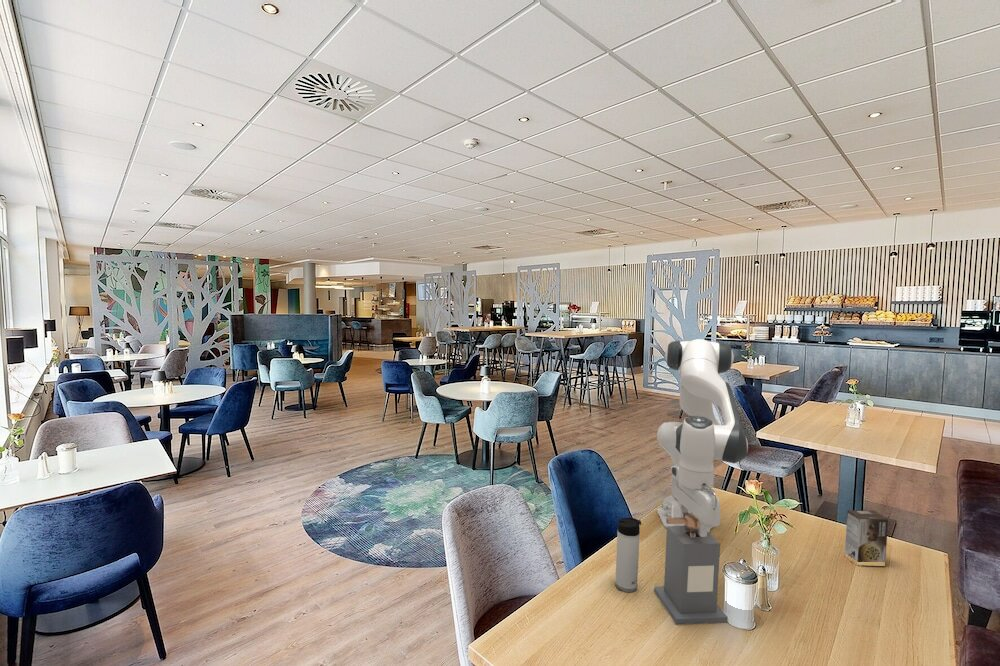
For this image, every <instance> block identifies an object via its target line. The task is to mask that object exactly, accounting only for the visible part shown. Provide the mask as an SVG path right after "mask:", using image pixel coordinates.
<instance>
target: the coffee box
mask: <svg viewBox="0 0 1000 666" xmlns="http://www.w3.org/2000/svg"><path fill="white" fill-rule="evenodd" d="M888 526H889V519H888V518H887V517H885V516H883V515H882V514H881V513H879V512H877V511H875V510H859V509H858V510H853V509H852V510H849V509H847V513H846V527H845V541H844V543H845V545H844V554H847V555H848V556H850V557H851V558H853V559H854V560H856V561H857V562H885V563H886V558H887V545H888V531H889V530H888Z"/></svg>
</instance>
